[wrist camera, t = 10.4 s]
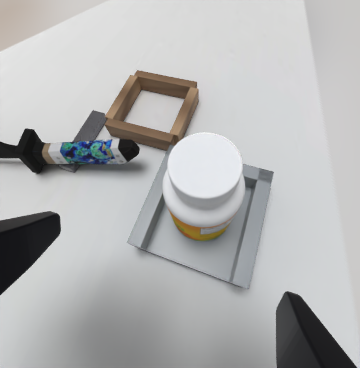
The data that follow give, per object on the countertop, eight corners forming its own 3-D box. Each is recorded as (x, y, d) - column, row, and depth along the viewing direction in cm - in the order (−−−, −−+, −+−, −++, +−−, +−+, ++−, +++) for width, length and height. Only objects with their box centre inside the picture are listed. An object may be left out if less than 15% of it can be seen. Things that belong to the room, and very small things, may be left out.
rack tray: (241, 287, 18) (249, 288, 15) (136, 247, 20) (126, 242, 17) (263, 185, 22) (273, 171, 19) (173, 159, 24) (169, 144, 21)
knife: (147, 158, 24) (136, 133, 20) (141, 183, 22) (128, 161, 18) (-76, 142, 28) (-123, 119, 24) (-91, 162, 27) (-144, 141, 23)
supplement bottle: (165, 198, 21) (140, 140, 12) (215, 179, 21) (228, 109, 12) (185, 252, 19) (173, 229, 10) (240, 229, 19) (278, 187, 10)
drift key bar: (74, 172, 24) (69, 168, 23) (62, 168, 24) (57, 164, 23) (107, 118, 27) (104, 113, 26) (96, 115, 27) (92, 110, 26)
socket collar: (176, 153, 24) (174, 143, 22) (107, 134, 26) (100, 123, 24) (200, 95, 27) (200, 82, 25) (137, 82, 29) (133, 69, 27)
